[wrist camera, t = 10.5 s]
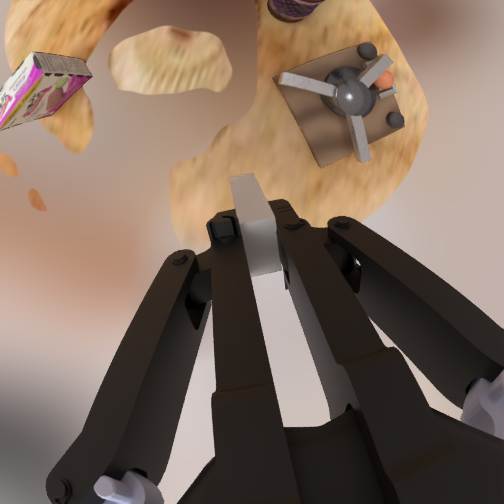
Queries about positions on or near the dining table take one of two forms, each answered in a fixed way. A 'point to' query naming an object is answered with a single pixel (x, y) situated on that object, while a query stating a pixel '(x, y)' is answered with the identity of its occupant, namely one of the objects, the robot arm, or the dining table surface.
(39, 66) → the candy bar box
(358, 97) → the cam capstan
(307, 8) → the mug
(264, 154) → the dining table surface
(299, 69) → the walnut stand
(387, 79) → the ball
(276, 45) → the dining table surface
